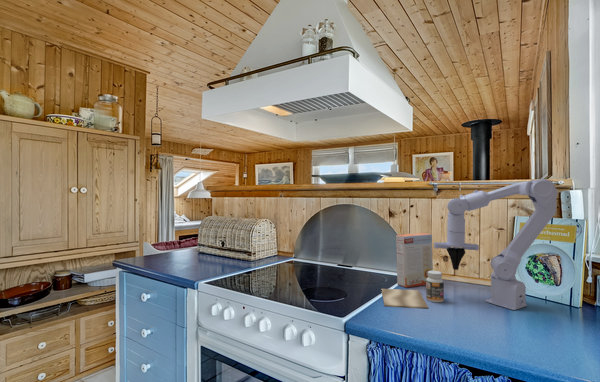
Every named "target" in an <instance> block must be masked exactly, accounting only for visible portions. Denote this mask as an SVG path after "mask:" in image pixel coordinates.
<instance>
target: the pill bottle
mask: <svg viewBox="0 0 600 382" xmlns="http://www.w3.org/2000/svg"><path fill="white" fill-rule="evenodd" d="M442 277H443V273H442V272H441V271H438V270H433V271H428V278H427V279H426V285H425V286H426V287H425V290H426V291H425V292H426V293H425V294H426V300H427V301H428V302H431V303H442V302H444V299H445V295H444V294H445V290H444V286H445V284H444V283H445V282H444V279H443V278H442Z"/></svg>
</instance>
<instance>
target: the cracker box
mask: <svg viewBox="0 0 600 382" xmlns="http://www.w3.org/2000/svg"><path fill="white" fill-rule="evenodd" d="M395 243H396V244H395V245H396V249H395V250H396V281H397V283H396V284H397V285H398V286H400V287H403V288H412V287H419V286H426V279H427V278H428V271H434V263H433V261H434V260H433V234H431V233H427V232H416V233H414V232H413V233H402V234H396V235H395Z"/></svg>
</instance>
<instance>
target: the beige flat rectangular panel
mask: <svg viewBox="0 0 600 382" xmlns="http://www.w3.org/2000/svg"><path fill="white" fill-rule="evenodd" d="M380 290H382V291H381V295H382V301H383V306H384V307H391V308H392V307H394V308H411V309H429V305H428V304H427V302H426V300H425V299H424V297H423V295H422V293H421V292H420V291H419V290H417V289H397V288H381V289H380Z"/></svg>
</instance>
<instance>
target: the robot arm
mask: <svg viewBox="0 0 600 382" xmlns="http://www.w3.org/2000/svg"><path fill="white" fill-rule="evenodd" d="M514 195H521V196H527V197H528V198H529V199H530V200H531V202H532V205H533V206H534V207H533V208H534V211H533V212H532V213H531V214H530V216H529V218H528V219H527V220H526V221H525V223H524V224H523V225H522V227H521V228H520V229H519V231H518V232H517V233H516V234H515V236H514V237H513V239H512V240H511V242H510V243H509V244H508V245H507V247H506V248H504V249H503V250H501V252H500V253H499V254H497V255H495V256H493V257H492V259H491V260H490V267H491V269H492V270H493V271H492V273H491V274H490V298H489V299H485V303H489V304H493V305H496V306H499V307H503V308H506V309H509V310H512V311H515V310H519V309H522V308H525V307H527V306H528V304H526V303H527V302H526V299H527V298H526V294H527V293H526V291H527V289H526V285H525V283H524V282H523V281H520V280H518V279H517V278H516V275H517V269H518V267H519V265H520V263H521V261H522V258H523V256H524V254H525V253H526V252H527V250H528V249H529V248H531V246H532V245H533V243H534V242H535V241H536V239H537V238H538V237H539V236H540V234H541V233H542V232H543V230H544V229H545V227H547V225H548V223H550V221H551V220H552V219H553V217H554V216H555V215H556V213H557V197H558V190H557V188H556V186H555V183H553V182H552V181H551V180H549V179H547V178H540V179H532V180H528V181H527V180H526V181H522V182H515V183H512V184H508V185H507V186H503V187H499V188H497V189H494V190H491V191H488V192H485V191H484V190H478V189H475V190H473V192H471V193H469V194H465V195H463V194H460V195H458V196H459V197H455V198H452V199H450V200H449V201H448V203H447V206H446V207H447V210H448V212H447V223H446V224H447V227H446V229H447V230H446V231H447V232H446V233H447V234H446V242H441V241H440V242H437V241H436V242H435V241H434V242H433V248H434V249H437V250H438V249H446V251H447V253H448V255H449V258H450V262H451V265H452V269H453V270H455V271H459V268H460V264H461V261H462V259H463V258H464V256H465V254H466V250H469V251H470V250H471V251H479V248H480V246H479V244H477V243H467V242H466V240H465V239H466V238H465V237H466V232H465V231H466V219H465V212H466V211H467V212H471V211H474V210H478V209H481V208H485V207H488V206H489V204H490V202H492V201H495V200H496V201H497V200H498V199H499V200H500V199H503V198H506V197H510V196H514ZM465 242H466V243H465Z"/></svg>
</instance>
